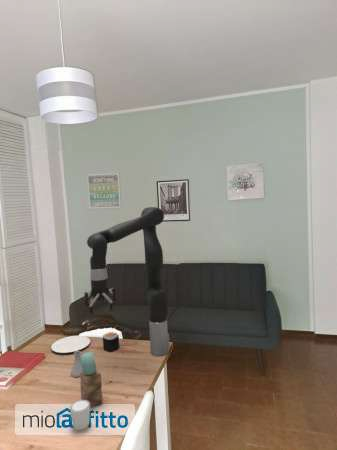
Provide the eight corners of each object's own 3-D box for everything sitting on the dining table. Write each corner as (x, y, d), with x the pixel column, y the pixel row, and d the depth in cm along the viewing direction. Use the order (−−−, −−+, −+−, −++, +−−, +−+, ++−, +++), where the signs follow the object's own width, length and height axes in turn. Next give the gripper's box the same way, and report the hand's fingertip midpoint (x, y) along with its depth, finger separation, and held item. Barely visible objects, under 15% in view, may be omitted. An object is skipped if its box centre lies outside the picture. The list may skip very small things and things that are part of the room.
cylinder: (96, 367, 125) (93, 350, 125) (96, 373, 120) (93, 355, 120) (83, 370, 124) (80, 353, 123) (83, 376, 119) (80, 358, 119)
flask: (82, 378, 140) (81, 357, 139) (67, 377, 141) (66, 356, 140) (89, 369, 147) (88, 349, 146) (75, 368, 148) (74, 348, 147)
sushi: (111, 343, 173) (110, 329, 173) (122, 347, 169) (121, 333, 168) (100, 349, 167) (99, 335, 166) (111, 353, 162) (110, 338, 161)
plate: (84, 355, 162) (84, 351, 162) (45, 356, 162) (44, 353, 162) (94, 337, 183) (94, 334, 183) (59, 339, 183) (58, 336, 183)
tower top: (95, 381, 127) (94, 366, 126) (101, 387, 122) (100, 372, 121) (80, 386, 123) (80, 372, 122) (87, 393, 118) (86, 378, 118)
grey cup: (73, 418, 113) (72, 400, 113) (92, 416, 114) (91, 398, 113) (69, 432, 107) (67, 412, 106) (89, 430, 107) (88, 410, 107)
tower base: (98, 394, 127) (98, 380, 127) (102, 404, 121) (101, 389, 121) (81, 399, 125) (80, 385, 124) (84, 409, 118) (83, 394, 118)
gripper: (112, 274, 148) (113, 307, 149) (81, 278, 142) (83, 312, 143) (116, 277, 142) (118, 311, 143) (84, 281, 135) (86, 318, 137)
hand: (101, 312), depth 143 cm, fingers open, 8 cm apart
